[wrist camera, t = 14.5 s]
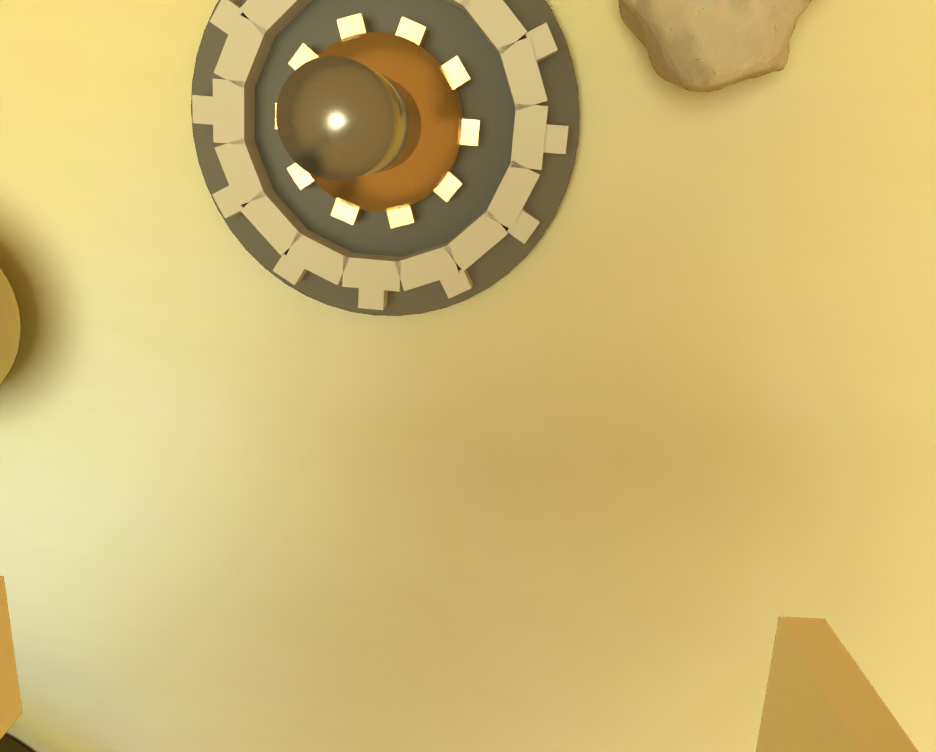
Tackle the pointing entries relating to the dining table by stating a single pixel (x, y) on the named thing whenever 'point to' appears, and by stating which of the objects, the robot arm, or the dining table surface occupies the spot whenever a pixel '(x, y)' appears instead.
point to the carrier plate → (439, 222)
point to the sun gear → (375, 120)
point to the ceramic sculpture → (713, 38)
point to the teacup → (8, 326)
